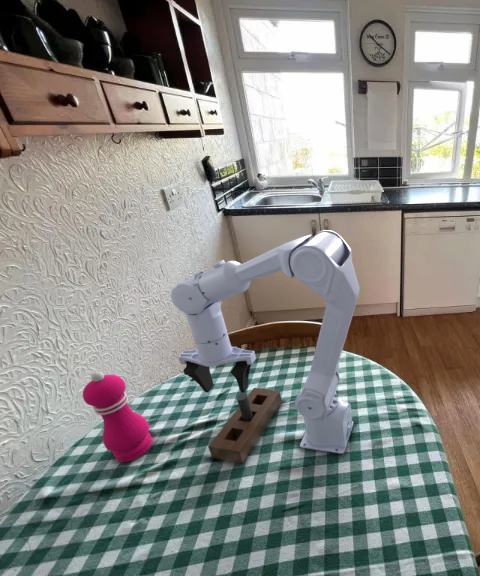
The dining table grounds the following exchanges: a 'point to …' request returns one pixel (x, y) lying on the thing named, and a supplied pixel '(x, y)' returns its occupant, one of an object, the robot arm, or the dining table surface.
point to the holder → (245, 427)
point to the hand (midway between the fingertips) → (227, 389)
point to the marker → (245, 407)
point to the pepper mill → (117, 417)
